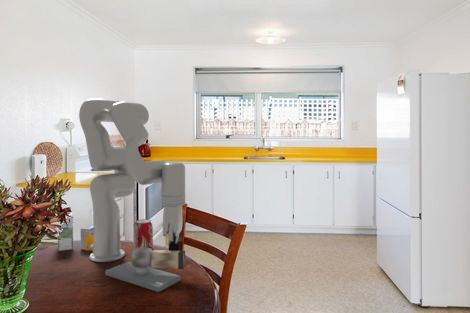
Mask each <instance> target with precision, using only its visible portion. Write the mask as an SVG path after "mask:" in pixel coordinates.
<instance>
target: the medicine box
mask: <svg viewBox="0 0 470 313" xmlns="http://www.w3.org/2000/svg"><path fill="white" fill-rule="evenodd" d="M85 234H91V236H92V237H94V223H93V224H90V225H87V226H85V227H82V228H80V249H81V250H83V251H86V250H85ZM88 248H90V245H88Z"/></svg>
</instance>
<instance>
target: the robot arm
mask: <svg viewBox="0 0 470 313" xmlns="http://www.w3.org/2000/svg"><path fill="white" fill-rule="evenodd" d="M149 116H150V113H149V110H148V109H147V107H146V106H145V105H143V104H142V103H138V102H128V101H123V100H114V99H105V98H97V97H96V98H89V99H86V100H84V101H83V102H82V104H81V106H80V107H79V112H78V117H79V119H78V120H79V123H80V126H81V129H82V131H83V134H84V137H85V142H86V147H87V148H86V149H87V155H88V160H89V165H90V167H91V168H92V170H93V171H96V172H108V171H114V173H104V174H100V175H97V176H95V177H93V178H92V180H91V181H90V183H89V192H90V196H91V202H92V212H93V214H92V216H93V224H94V243H93V245H90V248H91V249H93V250H92V253H90V255H89V260H90V261H91V262H96V263H97V262H98V263H106V262H113V261H117V260H120V259H122V258H124V256H125V250H124V249H121V212H120V211H121V210H120V207H119V204H118V203H117V201H116V200H115V199H119V198H122V197H128V196H130V195H132V194H133V193H134V192H135V189H136V183H137V184H139V185H141V186H142V185H143V186H145V185H146V186H147V185H152V184H159V183H161V205H162V206H163V214H162V215H163V216H162V236H163V237H166V236H168V250H171V251H180V233H182V229H183V206H185V205H186V166H185V164H184V163H182V162H175V161H174V162H171V161H168V160H152V161H151V160H150V161H145V160H144V158H143V157H142V155H141V153H140V151H139V147H140V146H142V145H144V144H145V142H147V140H148V138H149V131H148V130H147V128H146V126H145V125H146V124H147V123H148V122H149ZM102 122H104V123H107V122H108V123H114V126H115V127H116V129H117V131H118V132H119V135H120V136H121V138H122V139H123V141H124V143H125V147H124V146H121V145H112V143H111V138H110V134H109V132H108V130H107V129H106V127H105V126H104V125H103V124H102Z"/></svg>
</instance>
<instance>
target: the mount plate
mask: <svg viewBox="0 0 470 313" xmlns="http://www.w3.org/2000/svg"><path fill="white" fill-rule="evenodd" d="M104 274H105V276H106V277H107V276H108V277H111V278H113V279H116V280H119V281H123V282H126V283H130V284H133V285H136V286H139V287H141V288H144V289H148V290H151V291H154V292H156V293H159V292H161V291H164V290H165V289H167V288H169V287H171V286H173V285H175V284H176V283H179V282H181V281H182V280H181V275H179V274H175V273H172V272H169V271H165V270H161V269H159V268H152V267H151V266H147V267H140V268H139V267H134V266H132V261H126V262H124V263H121V264H119V265H116V266H114V267H111V268H109V269H108V268H107V269H105V271H104Z"/></svg>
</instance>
